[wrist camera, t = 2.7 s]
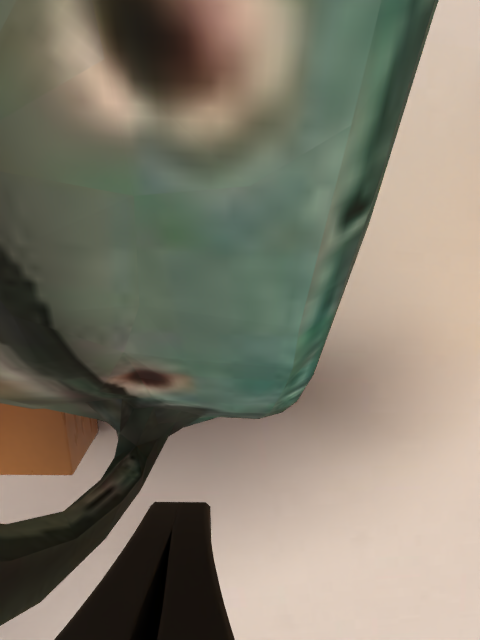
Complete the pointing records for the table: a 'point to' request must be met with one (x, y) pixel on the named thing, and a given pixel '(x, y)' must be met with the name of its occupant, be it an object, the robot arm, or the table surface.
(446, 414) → the table surface
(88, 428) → the wood block
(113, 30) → the ceramic cat
